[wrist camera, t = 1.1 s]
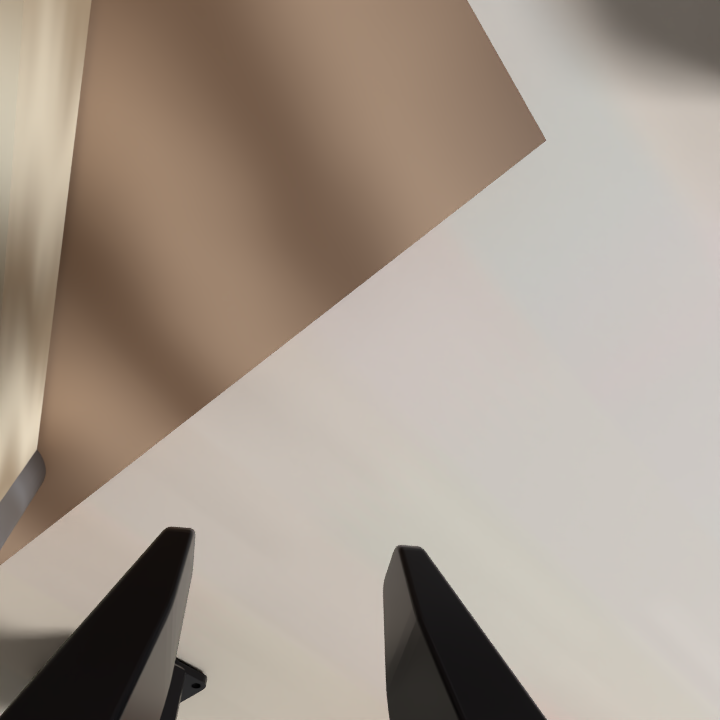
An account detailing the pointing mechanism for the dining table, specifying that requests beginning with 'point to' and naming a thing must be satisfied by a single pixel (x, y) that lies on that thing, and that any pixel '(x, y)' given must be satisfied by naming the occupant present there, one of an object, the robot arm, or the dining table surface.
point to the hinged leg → (32, 219)
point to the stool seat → (245, 198)
